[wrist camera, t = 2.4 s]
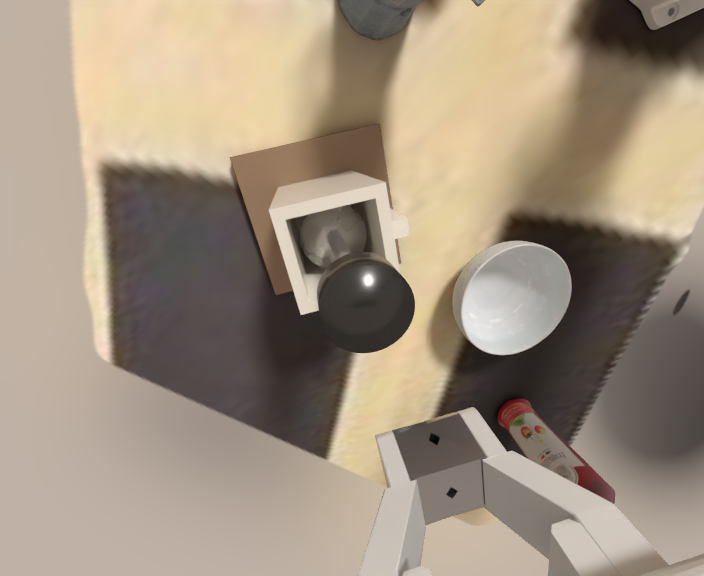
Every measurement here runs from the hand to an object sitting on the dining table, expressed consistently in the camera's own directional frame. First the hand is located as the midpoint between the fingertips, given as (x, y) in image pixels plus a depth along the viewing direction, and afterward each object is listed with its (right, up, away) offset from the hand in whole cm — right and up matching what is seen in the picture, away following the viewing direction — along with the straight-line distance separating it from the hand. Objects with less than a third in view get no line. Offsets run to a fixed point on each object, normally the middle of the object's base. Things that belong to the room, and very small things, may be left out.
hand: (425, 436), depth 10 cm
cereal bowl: (+20, +5, +43) cm, 48 cm away
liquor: (+28, -19, +54) cm, 64 cm away
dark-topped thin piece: (-4, +9, +23) cm, 25 cm away
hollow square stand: (-6, +14, +34) cm, 38 cm away
